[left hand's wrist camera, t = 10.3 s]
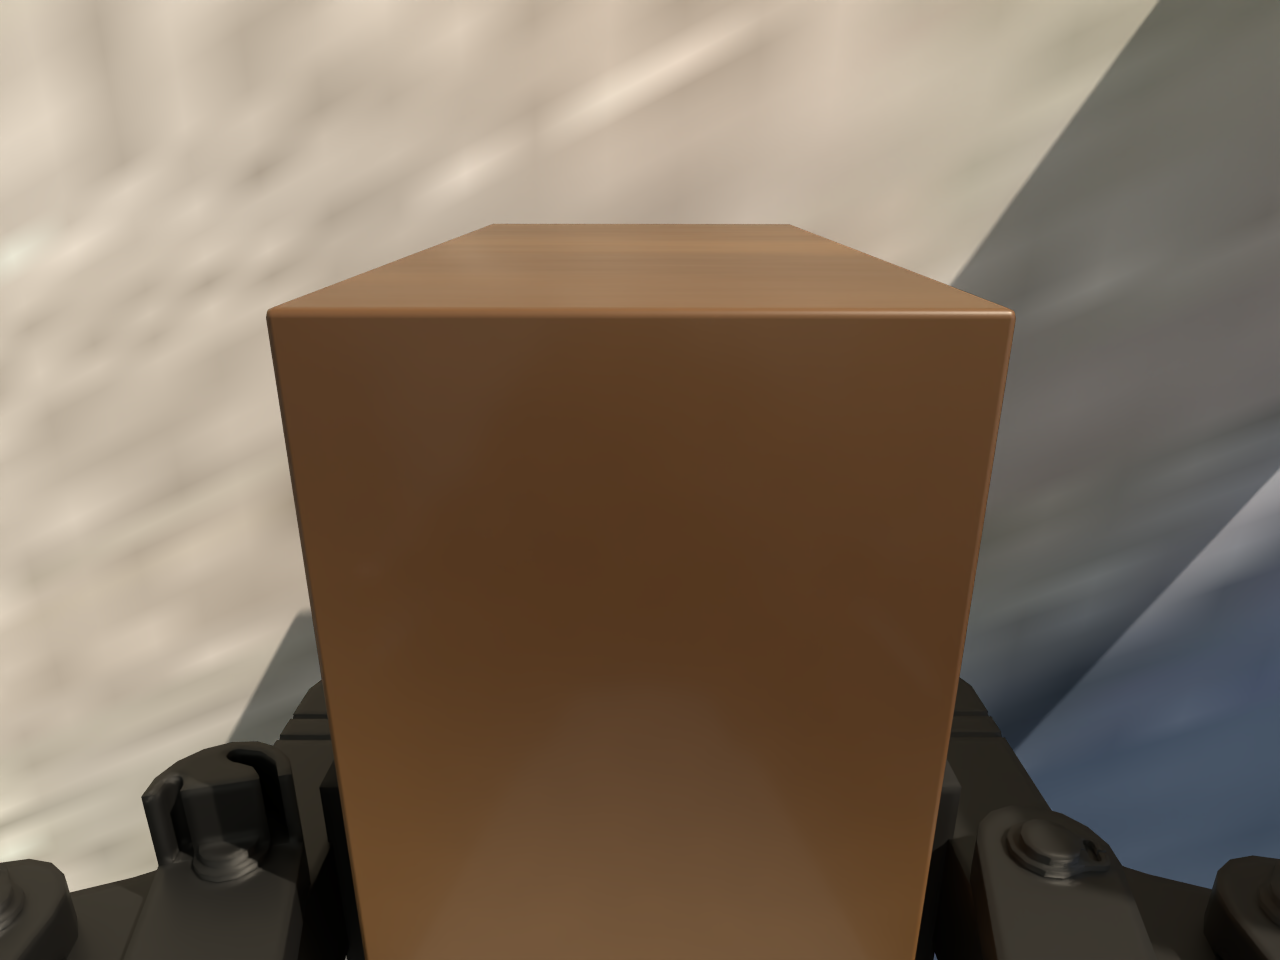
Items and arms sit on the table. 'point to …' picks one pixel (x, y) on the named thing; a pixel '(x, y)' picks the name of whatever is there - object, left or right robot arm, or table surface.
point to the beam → (640, 585)
